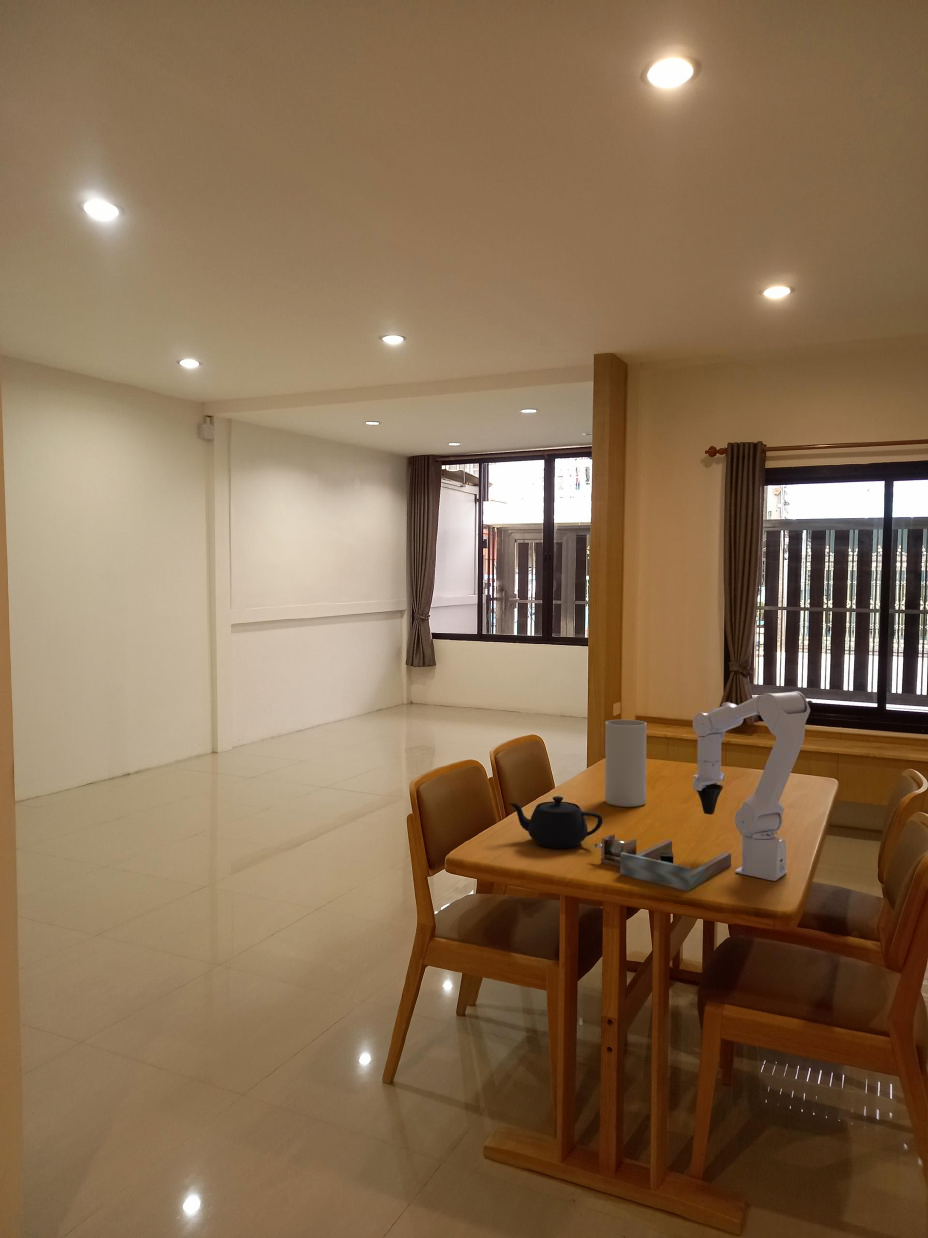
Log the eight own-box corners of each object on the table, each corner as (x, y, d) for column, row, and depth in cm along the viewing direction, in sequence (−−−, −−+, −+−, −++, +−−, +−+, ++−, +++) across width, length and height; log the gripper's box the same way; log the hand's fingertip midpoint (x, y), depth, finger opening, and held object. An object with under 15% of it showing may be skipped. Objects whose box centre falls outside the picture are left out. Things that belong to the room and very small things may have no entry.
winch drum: (636, 863, 210) (636, 839, 210) (626, 868, 206) (626, 844, 206) (603, 856, 216) (603, 832, 216) (592, 861, 212) (592, 836, 212)
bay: (731, 865, 209) (731, 844, 209) (688, 891, 191) (688, 868, 191) (666, 851, 220) (666, 832, 220) (620, 874, 202) (620, 853, 202)
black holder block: (650, 864, 212) (651, 845, 212) (681, 866, 211) (681, 847, 210) (651, 880, 200) (652, 860, 200) (684, 882, 198) (684, 862, 198)
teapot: (606, 838, 231) (606, 793, 231) (598, 856, 216) (598, 807, 216) (514, 831, 238) (514, 787, 238) (501, 847, 224) (501, 800, 223)
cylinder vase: (638, 809, 261) (638, 727, 260) (599, 804, 267) (599, 724, 266) (651, 800, 272) (651, 721, 271) (613, 796, 278) (613, 718, 277)
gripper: (706, 753, 226) (706, 805, 227) (681, 762, 215) (681, 816, 216) (732, 757, 222) (732, 810, 222) (708, 766, 210) (707, 821, 211)
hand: (708, 813), depth 218 cm, fingers closed
